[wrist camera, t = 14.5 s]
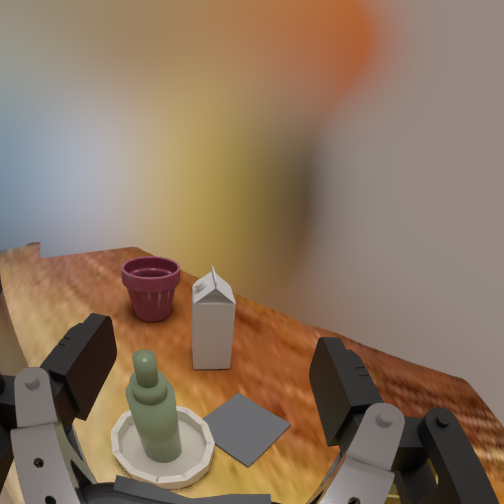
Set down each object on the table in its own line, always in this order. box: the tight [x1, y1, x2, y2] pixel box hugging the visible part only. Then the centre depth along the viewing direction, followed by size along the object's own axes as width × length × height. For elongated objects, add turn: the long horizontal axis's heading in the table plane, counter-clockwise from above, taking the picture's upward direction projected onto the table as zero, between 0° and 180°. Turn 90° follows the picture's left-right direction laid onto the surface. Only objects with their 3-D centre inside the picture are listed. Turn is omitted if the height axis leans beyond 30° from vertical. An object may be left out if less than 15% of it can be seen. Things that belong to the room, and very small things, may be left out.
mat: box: [202, 393, 291, 467], centre depth 37 cm, size 11×11×1 cm
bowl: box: [111, 405, 215, 490], centre depth 30 cm, size 14×14×3 cm
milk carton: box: [192, 266, 236, 369], centre depth 50 cm, size 7×7×19 cm
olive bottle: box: [126, 350, 182, 463], centre depth 27 cm, size 6×6×18 cm
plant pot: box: [122, 256, 180, 322], centre depth 64 cm, size 14×14×13 cm
